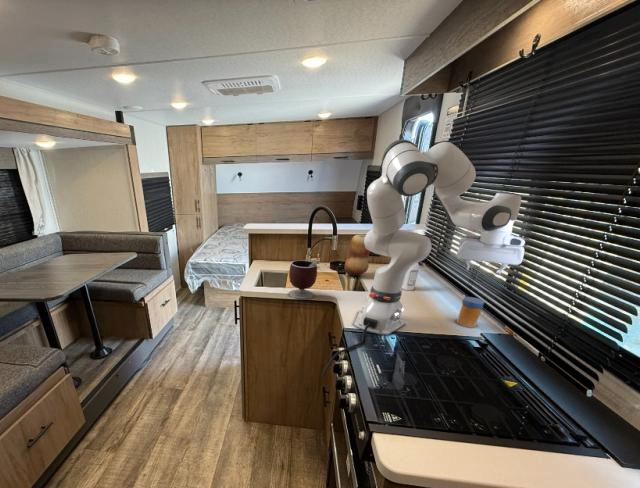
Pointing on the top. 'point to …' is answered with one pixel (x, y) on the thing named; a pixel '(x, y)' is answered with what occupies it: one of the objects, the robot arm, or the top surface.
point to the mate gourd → (302, 278)
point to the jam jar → (468, 316)
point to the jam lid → (473, 302)
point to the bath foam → (410, 277)
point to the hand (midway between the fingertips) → (482, 272)
